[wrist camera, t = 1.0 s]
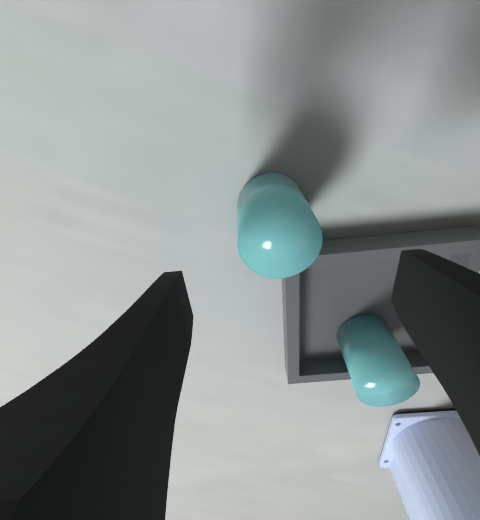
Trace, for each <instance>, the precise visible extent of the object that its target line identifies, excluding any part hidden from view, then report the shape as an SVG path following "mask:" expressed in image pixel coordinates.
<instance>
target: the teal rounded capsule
mask: <svg viewBox="0 0 480 520" xmlns="http://www.w3.org/2000/svg"><path fill="white" fill-rule="evenodd" d="M322 241H323V235H322V230H321V227H320V224H319V222H318V221H317V219H316V217H315V215H314V213H313V212H312V210H311V208H310V206H309V204H308V203H307V201H306V199H305V197H304V195H303V194H302V192H301V190H300V188H299V186H298V185H297V184H296V183H295V182H294V181H293V180H292V179H291V178H290V177H288V176H286V175H283V174H280V173H264V174H261V175H258V176H256V177H254V178H253V179H251V180H250V181H249V182H248V183H247V184H246V185H245V186H244V187H243V189H242V190H241V192H240V195H239V198H238V251H239V254H240V257H241V259H242V261H243V262H244V263H245V265H246V266H247V267H248V268H249V269H250V270H252V271H253V272H255V273H257V274H259V275H261V276H264V277H268V278H286V277H290V276H293V275H296V274H298V273H300V272H302V271H303V270H305V269H306V268H308V267H309V266H310V265H311V264H312V263H313V262H314V261H315V259H316V258H317V256H318V255H319V252H320V250H321V247H322Z"/></svg>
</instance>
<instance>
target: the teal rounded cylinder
mask: <svg viewBox="0 0 480 520" xmlns="http://www.w3.org/2000/svg"><path fill="white" fill-rule="evenodd" d="M336 338H337V341H338V344H339V347H340V350H341V352H342V355H343V358H344V361H345V363H346V366H347V369H348V372H349V374H350V377H351V380H352V383H353V385H354V388H355V391H356V394H357V397H358V398H359V400H360V401H361V402H363V403H365V404H367V405H371V406H390V405H394V404H398V403H400V402H403V401H405V400H407V399H409V398H410V397H412V396H413V395H414V394H415V393H416V392H417V391H418V389H419V386H420V380H419V378H418V377H417V375H416V373H415V371H414V370H413V368H412V366H411V364H410V363H409V361H408V359H407V357H406V356H405V354H404V352H403V351H402V349H401V347H400V345H399V344H398V342H397V340H396V338H395V337H394V335H393V333H392V331H391V330H390V328H389V326H388V325H387V323H386V321H385V320H384V319H382V318H381V317H379V316H376V315H360V316H356V317H353V318H351V319H349V320H347V321H346V322H345V323H343V324H342V325H341V326H340V328H339V329H338V331H337V335H336Z"/></svg>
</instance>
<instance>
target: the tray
mask: <svg viewBox="0 0 480 520" xmlns="http://www.w3.org/2000/svg"><path fill="white" fill-rule="evenodd" d="M412 249H423V250H426V251H429V252H431V253H434V254H436V255H439V256H441V257H443V258H446V259H448V260H450V261H452V262H455V263H457V264H459V265H461V266H464V267H466V268H468V269H470V270H473V271H475V272H477V273H479V271H480V231H479V230H477V229H476V228H474V227H472V226H466V227H456V228H445V229H435V230H424V231H413V232H403V233H392V234H382V235H371V236H360V237H350V238H339V239H329V240H323V241H322V247H321V250H320V252H319V255H318V256H317V258H316V259H315V261H314V262H313V263H312V264H311V265H310V266H309V267H308V268H306V269H305V270H303V271H302V272H300V273H298V274H296V275H293V276H290V277H286V278H282V291H283V320H284V348H285V368H286V373H287V379H288V384H294V383H307V382H320V381H333V380H346V379H351V377H350V374H349V372H348V369H347V366H346V363H345V361H344V358H343V355H342V352H341V350H340V347H339V344H338V341H337V338H336V335H337V331H338V329H339V328H340V326H341V325H342V324H343V323H345V322H346V321H347V320H349V319H351V318H353V317H356V316H360V315H376V316H379V317H381V318H382V319H384V320H385V321H386V323H387V325H388V326H389V328H390V330H391V331H392V333H393V335H394V337H395V338H396V340H397V342H398V344H399V345H400V347H401V349H402V351H403V352H404V354H405V356H406V357H407V359H408V361H409V363H410V364H411V366H412V368H413V370H414V371H415V373H416V374H424V373H433V371H432V370H431V368H430V367H429V365H428V364H427V362H426V361H425V359H424V358H423V356H422V355H421V353H420V352H419V350H418V349H417V347H416V346H415V344H414V342H413V341H412V339H411V338H410V336H409V335H408V333H407V332H406V330H405V328H404V327H403V325H402V323H401V321H400V319H399V317H398V315H397V313H396V310H395V308H394V306H393V304H392V301H391V296H392V291H393V287H394V282H395V277H396V273H397V268H398V264H399V259H400V254H401V251H402V250H412Z"/></svg>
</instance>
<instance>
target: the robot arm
mask: <svg viewBox="0 0 480 520" xmlns="http://www.w3.org/2000/svg"><path fill="white" fill-rule="evenodd" d="M391 301H392V304H393V306H394V308H395V310H396V313H397V315H398V317H399V319H400V321H401V323H402V325H403V327H404V328H405V330H406V332H407V333H408V335H409V336H410V338H411V339H412V341H413V342H414V344H415V346H416V347H417V349H418V350H419V352H420V353H421V355H422V356H423V358H424V359H425V361H426V362H427V364H428V365H429V367H430V368H431V370H432V371H433V373H434V374H435V376H436V377H437V379H438V380H439V382H440V383H441V385H442V386H443V388H444V390H445V391H446V393H447V395H448V396H449V398H450V400H451V401H452V403H453V405H454V407H455V409H456V410H453V411H438V412H422V413H407V414H396V415H394V416H393V417H392V420H391V423H390V426H389V430H388V433H387V436H386V440H385V443H384V446H383V450H382V453H381V457H380V460H379V466H380V467H381V468H390V470H391V472H392V475H393V477H394V480H395V483H396V485H397V488H398V490H399V493H400V495H401V498H402V501H403V503H404V506H405V508H406V511H407V513H408V516H409V519H410V520H480V274H479V273H477V272H475V271H473V270H470V269H468V268H466V267H464V266H461V265H459V264H457V263H455V262H452V261H450V260H448V259H446V258H443V257H441V256H439V255H436V254H434V253H431V252H429V251H426V250H423V249H412V250H402V251H401V254H400V259H399V264H398V268H397V273H396V277H395V282H394V287H393V291H392V296H391ZM192 327H193V313H192V309H191V306H190V302H189V298H188V294H187V290H186V286H185V282H184V278H183V274H182V271H175V272H164V273H163V274H162V275H161V276H160V277H159V278H158V279H157V280H156V281H155V282H154V283H153V284H152V285H151V286H150V287H149V288H148V289H147V290H146V291H145V293H144V294H143V295H142V296H141V297H140V298H139V299H138V300H137V301H136V302H135V303H134V304H133V305H132V306H131V307H130V308H129V309H128V310H127V311H126V312H125V313H124V314H123V315H122V316H121V317H120V318H118V319H117V320H116V321H115V322H114V323H113V324H112V325H111V326H110V327H109V328H108V329H107V330H106V331H105V332H103V333H102V334H101V335H100V336H99V337H98V338H97V339H95V340H94V341H93V342H92V343H91V344H90V345H88V346H87V347H86V348H85V349H83V350H82V351H81V352H80V353H78V354H77V355H76V356H74V357H73V358H72V359H71V360H69V361H68V362H67V363H65V364H64V365H63V366H61V367H60V368H58V369H57V370H55V371H54V372H53V373H51V374H50V375H48V376H47V377H45V378H44V379H43V380H41V381H40V382H38V383H37V384H36V385H34V386H33V387H31V388H30V389H28V390H27V391H25V392H24V393H22V394H21V395H19V396H18V397H16V398H14V399H13V400H11V401H10V402H8V403H7V404H5V405H3V406H2V407H0V520H165V512H166V500H167V489H168V479H169V469H170V459H171V450H172V441H173V433H174V424H175V418H176V412H177V406H178V402H179V397H180V392H181V388H182V383H183V379H184V374H185V369H186V365H187V360H188V355H189V351H190V346H191V338H192Z"/></svg>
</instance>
